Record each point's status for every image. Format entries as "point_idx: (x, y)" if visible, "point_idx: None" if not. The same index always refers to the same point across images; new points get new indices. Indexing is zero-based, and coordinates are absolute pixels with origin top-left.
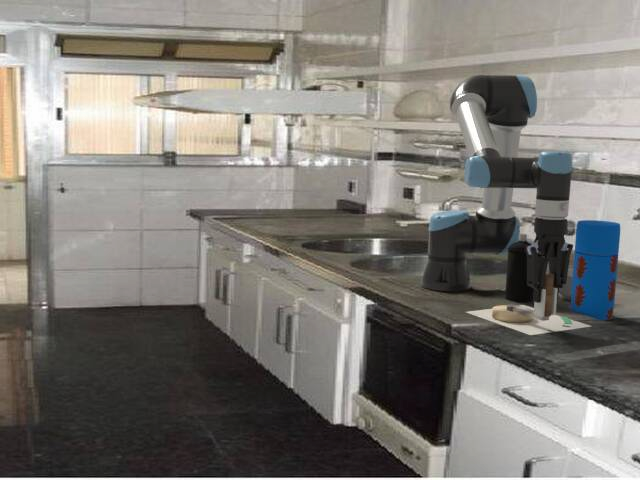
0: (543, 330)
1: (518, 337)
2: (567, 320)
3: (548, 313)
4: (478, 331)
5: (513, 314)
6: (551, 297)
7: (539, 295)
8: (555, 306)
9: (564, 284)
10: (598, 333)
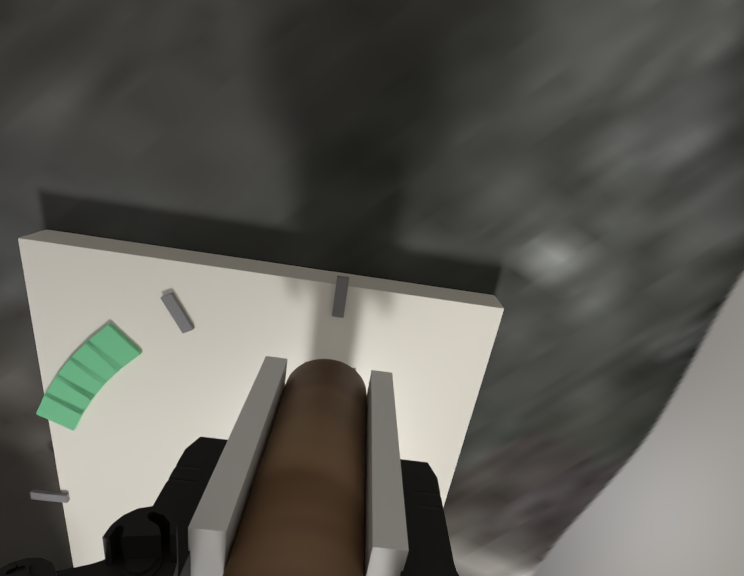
0: (362, 328)
1: None
2: (83, 375)
3: (335, 373)
4: (530, 495)
5: None
6: (299, 458)
7: (419, 515)
8: (258, 394)
9: (37, 558)
10: (22, 192)
